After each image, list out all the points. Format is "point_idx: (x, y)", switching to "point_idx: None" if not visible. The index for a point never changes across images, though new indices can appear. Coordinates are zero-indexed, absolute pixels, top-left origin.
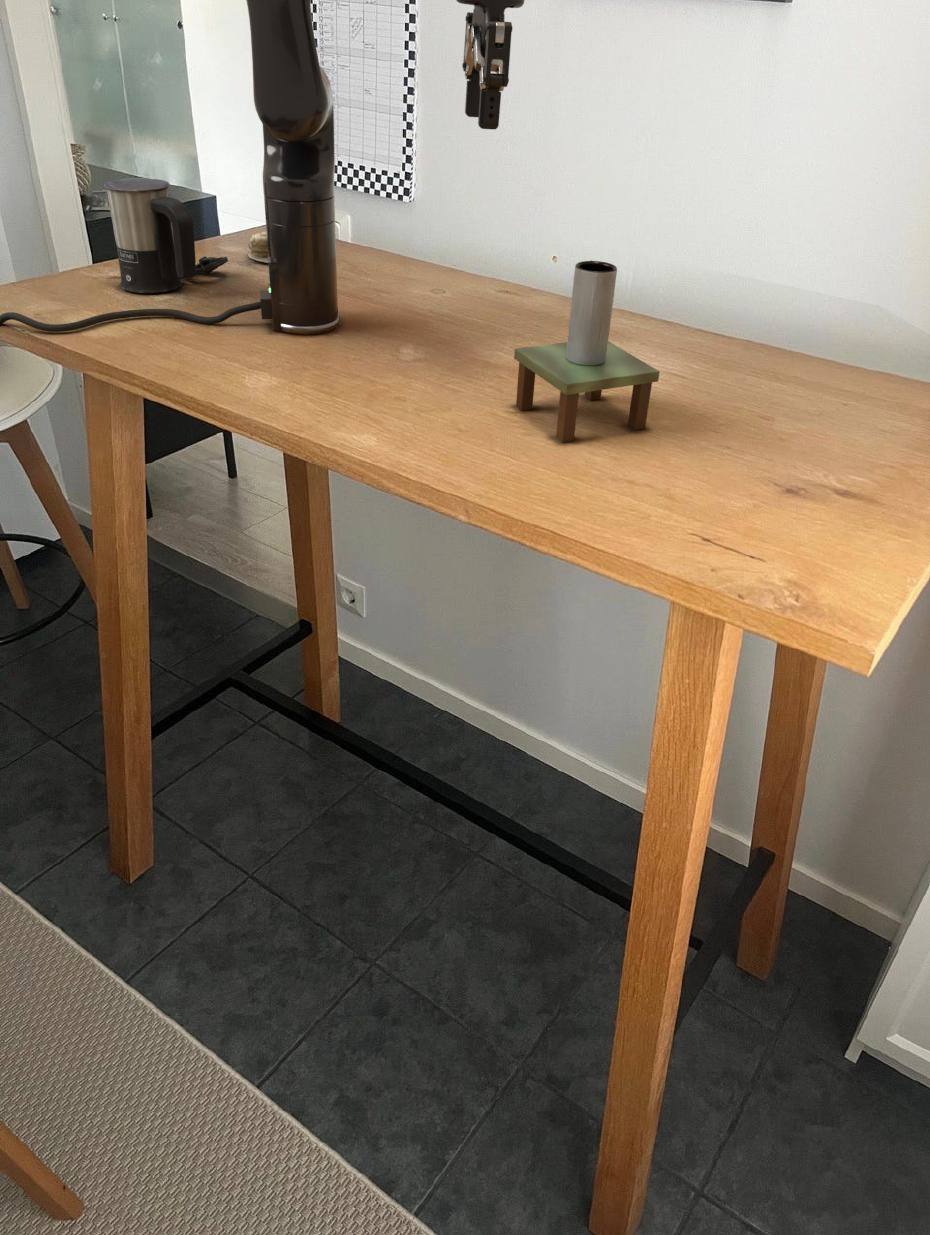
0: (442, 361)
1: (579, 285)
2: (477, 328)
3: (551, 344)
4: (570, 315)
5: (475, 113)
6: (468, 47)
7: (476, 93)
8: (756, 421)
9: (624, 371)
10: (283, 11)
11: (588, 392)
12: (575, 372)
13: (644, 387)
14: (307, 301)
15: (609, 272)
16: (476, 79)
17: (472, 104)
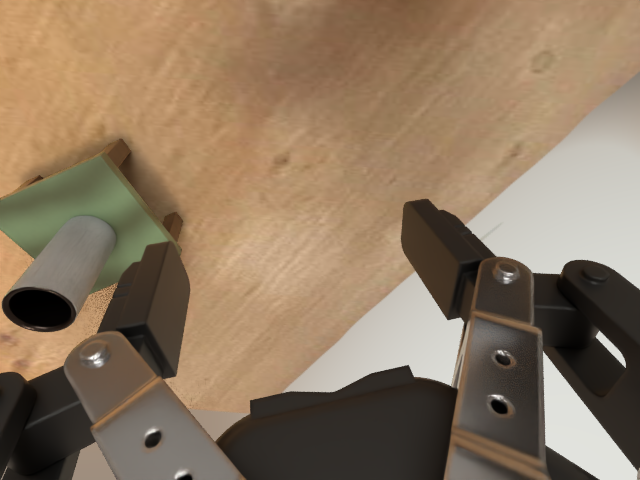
0: (265, 51)
1: (19, 278)
2: (390, 109)
3: (135, 201)
4: (59, 244)
5: (407, 230)
6: (457, 399)
7: (434, 266)
8: None
9: None
10: None
11: (168, 217)
12: (32, 221)
13: None
14: None
15: (17, 324)
16: (463, 296)
17: (419, 234)
